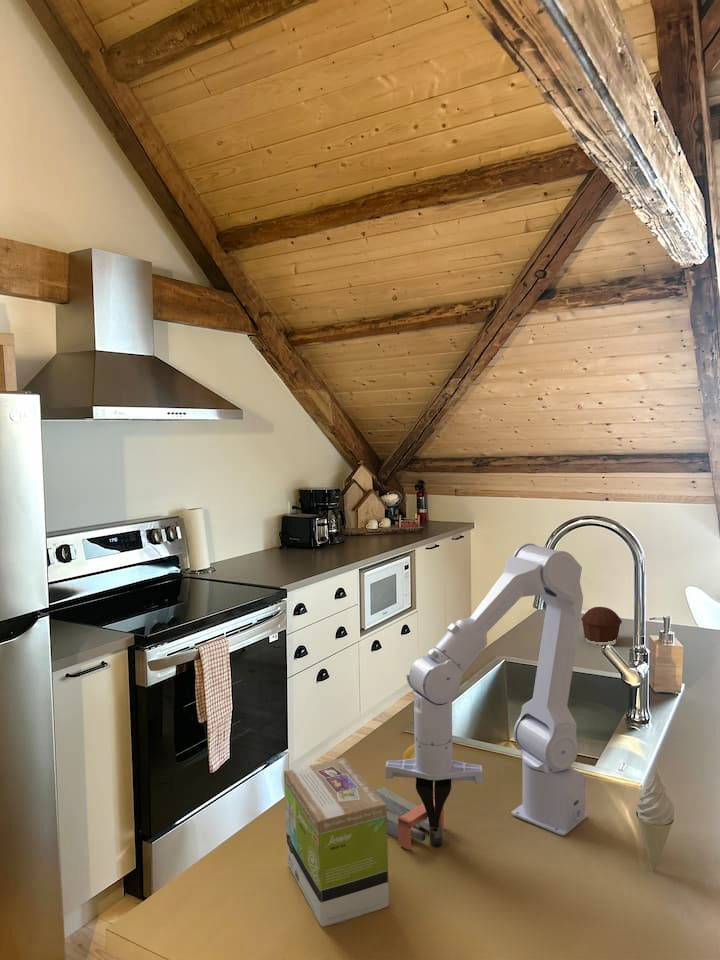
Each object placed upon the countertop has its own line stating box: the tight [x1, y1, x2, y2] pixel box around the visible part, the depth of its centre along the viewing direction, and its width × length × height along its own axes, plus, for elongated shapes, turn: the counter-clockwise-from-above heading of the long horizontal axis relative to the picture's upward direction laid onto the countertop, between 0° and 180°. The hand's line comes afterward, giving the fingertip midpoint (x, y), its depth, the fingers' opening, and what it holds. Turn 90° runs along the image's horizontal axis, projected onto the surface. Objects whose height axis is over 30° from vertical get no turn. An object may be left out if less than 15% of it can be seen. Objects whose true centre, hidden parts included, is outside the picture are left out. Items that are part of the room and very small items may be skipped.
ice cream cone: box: [635, 768, 675, 873], centre depth 102 cm, size 5×5×15 cm
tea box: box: [283, 757, 390, 928], centre depth 100 cm, size 15×10×15 cm, turn 23°
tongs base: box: [387, 810, 444, 849], centre depth 115 cm, size 16×4×2 cm, turn 46°
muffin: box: [580, 606, 623, 642], centre depth 211 cm, size 12×11×10 cm
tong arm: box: [374, 786, 430, 832], centre depth 118 cm, size 14×2×2 cm, turn 39°
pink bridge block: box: [398, 796, 445, 850], centre depth 112 cm, size 2×9×4 cm, turn 136°
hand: (434, 824), depth 110 cm, fingers closed
